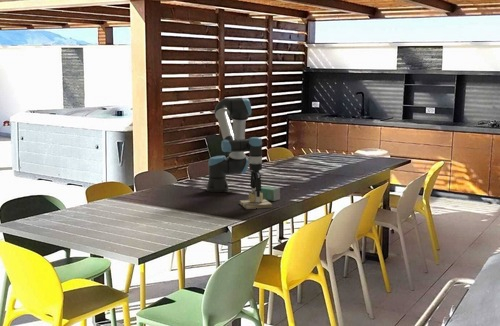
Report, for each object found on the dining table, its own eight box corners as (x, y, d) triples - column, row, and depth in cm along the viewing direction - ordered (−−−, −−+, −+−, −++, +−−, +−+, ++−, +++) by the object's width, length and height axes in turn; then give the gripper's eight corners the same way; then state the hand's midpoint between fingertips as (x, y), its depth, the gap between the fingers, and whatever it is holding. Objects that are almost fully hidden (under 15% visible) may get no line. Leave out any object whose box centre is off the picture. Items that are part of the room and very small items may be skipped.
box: (263, 196, 388) (263, 185, 387) (280, 199, 380) (280, 187, 379) (256, 198, 383) (256, 187, 381) (273, 201, 374) (273, 189, 373)
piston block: (239, 203, 368) (239, 189, 366) (264, 202, 372) (264, 187, 371) (246, 209, 352) (246, 194, 351) (272, 207, 357) (272, 192, 355)
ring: (247, 199, 364) (247, 192, 364) (260, 199, 367) (260, 191, 366) (251, 202, 357) (251, 195, 356) (263, 201, 359) (263, 194, 358)
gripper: (245, 161, 367) (245, 197, 371) (254, 165, 347) (254, 204, 351) (256, 160, 369) (257, 196, 373) (266, 165, 349) (266, 203, 353)
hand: (255, 200), depth 362 cm, fingers closed on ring, 8 cm apart
